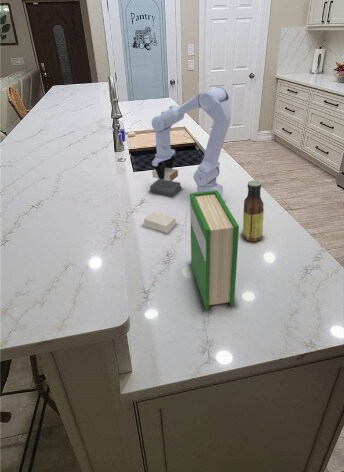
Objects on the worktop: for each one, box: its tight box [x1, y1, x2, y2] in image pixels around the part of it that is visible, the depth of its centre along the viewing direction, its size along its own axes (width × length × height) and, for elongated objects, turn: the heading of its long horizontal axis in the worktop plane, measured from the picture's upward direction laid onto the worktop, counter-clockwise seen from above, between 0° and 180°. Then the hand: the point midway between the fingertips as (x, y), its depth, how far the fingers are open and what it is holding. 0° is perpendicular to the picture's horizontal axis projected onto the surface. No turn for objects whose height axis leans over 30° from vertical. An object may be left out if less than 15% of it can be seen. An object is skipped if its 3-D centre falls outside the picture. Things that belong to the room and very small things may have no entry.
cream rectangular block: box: [143, 211, 177, 234], centre depth 116 cm, size 10×6×3 cm, turn 60°
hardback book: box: [189, 190, 240, 311], centre depth 85 cm, size 18×7×24 cm, turn 9°
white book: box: [151, 167, 179, 181], centre depth 137 cm, size 9×6×3 cm, turn 60°
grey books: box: [149, 178, 183, 198], centre depth 140 cm, size 11×8×3 cm
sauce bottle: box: [242, 180, 265, 242], centre depth 104 cm, size 6×6×20 cm
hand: (165, 175), depth 137 cm, fingers closed on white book, 5 cm apart
